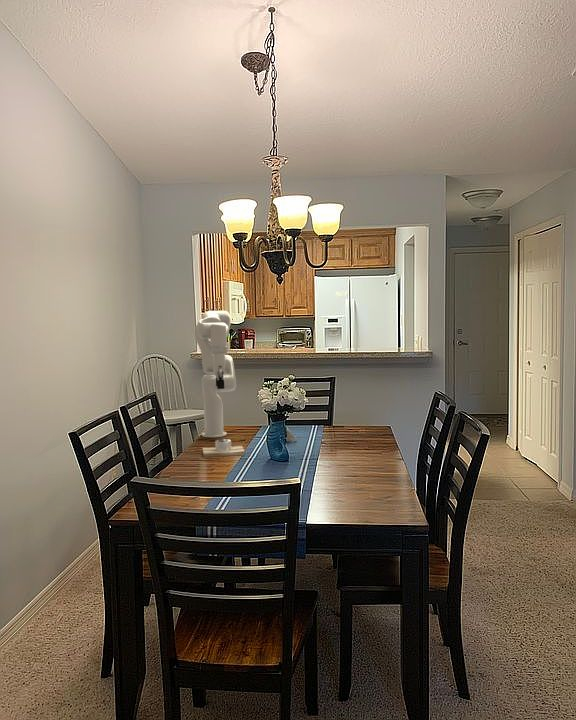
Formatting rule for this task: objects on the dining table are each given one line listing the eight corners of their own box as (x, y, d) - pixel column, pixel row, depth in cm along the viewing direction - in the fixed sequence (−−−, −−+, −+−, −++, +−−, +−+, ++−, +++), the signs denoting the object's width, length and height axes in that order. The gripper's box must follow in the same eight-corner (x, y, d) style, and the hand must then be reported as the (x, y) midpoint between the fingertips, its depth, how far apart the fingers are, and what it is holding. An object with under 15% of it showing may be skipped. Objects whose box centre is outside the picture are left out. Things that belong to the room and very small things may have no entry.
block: (202, 451, 298) (202, 448, 298) (242, 449, 301) (242, 445, 300) (203, 457, 286) (203, 453, 286) (244, 454, 289) (244, 451, 289)
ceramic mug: (276, 444, 310) (276, 428, 309) (273, 440, 318) (273, 425, 317) (298, 443, 312) (298, 427, 311) (294, 439, 320) (294, 424, 319)
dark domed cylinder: (219, 449, 295) (219, 439, 294) (226, 448, 295) (226, 438, 295) (219, 450, 291) (219, 440, 291) (227, 450, 292) (227, 440, 291)
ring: (215, 448, 296) (214, 439, 296) (230, 447, 297) (230, 438, 297) (215, 451, 289) (215, 443, 289) (231, 451, 290) (231, 442, 290)
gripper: (209, 349, 308) (211, 385, 310) (211, 352, 291) (212, 390, 293) (225, 348, 309) (226, 384, 311) (228, 351, 292) (229, 389, 294)
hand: (220, 387), depth 302 cm, fingers open, 9 cm apart
